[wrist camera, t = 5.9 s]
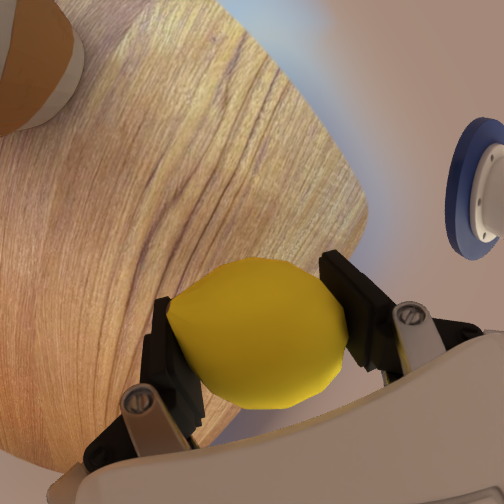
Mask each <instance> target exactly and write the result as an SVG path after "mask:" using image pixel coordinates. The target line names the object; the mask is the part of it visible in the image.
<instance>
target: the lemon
mask: <svg viewBox="0 0 504 504" xmlns="http://www.w3.org/2000/svg"><path fill="white" fill-rule="evenodd" d="M166 316H167V318H168V320H169V323H170V325H171V328H172V330H173V332H174V334H175V337H176V339H177V341H178V344H179V346H180V348H181V350H182V352H183V354H184V357H185V359H186V361H187V363H188V365H189V367H190V368H191V369H192V371H193V372H194V373H195V374H196V375H197V377H198V378H199V379H200V380H201V381H202V383H203V384H204V385H205V386H206V387H207V388H208V389H209V391H210V392H211V393H213V394H215V395H217V396H219V397H221V398H223V399H225V400H227V401H229V402H231V403H233V404H235V405H237V406H240V407H242V408H244V409H285V408H288V407H291V406H294V405H296V404H298V403H300V402H302V401H304V400H306V399H308V398H310V397H312V396H314V395H316V394H318V393H320V392H322V391H323V390H324V389H325V388H326V387H327V386H328V384H329V383H330V382H331V381H332V380H333V379H334V377H335V376H336V375H337V374H338V373H339V372H340V370H341V366H342V360H343V354H344V350H345V347H346V344H347V342H348V339H349V335H348V330H347V324H346V319H345V314H344V309H343V307H342V306H341V304H340V303H339V302H338V301H337V300H336V298H335V297H334V296H333V295H332V293H331V292H330V291H329V290H328V289H327V287H326V286H325V285H324V284H323V283H322V281H321V280H320V279H318V278H316V277H314V276H313V275H311V274H309V273H307V272H305V271H304V270H302V269H300V268H298V267H296V266H295V265H293V264H291V263H289V262H287V261H282V260H273V259H265V258H257V257H249V258H245V259H242V260H238V261H235V262H231V263H228V264H224V265H220V266H219V267H217V268H216V269H214V270H213V271H212V272H210V273H209V274H207V275H206V276H204V277H203V278H202V279H200V280H199V281H197V282H196V283H195V284H193V285H192V286H190V287H189V288H188V289H186V290H185V291H183V292H182V293H181V294H179V295H178V296H176V297H175V298H174V299H172V300H171V301H170V302H169V303H168V305H167V308H166Z"/></svg>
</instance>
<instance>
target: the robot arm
mask: <svg viewBox="0 0 504 504" xmlns="http://www.w3.org/2000/svg"><path fill="white" fill-rule="evenodd" d="M469 215H470V224H471V229H472V232H473V234H474V236H475V237H476V238H477V239H479V240H480V241H482V242H485V243H486V242H490V241H491V240H493V239H494V238H495V237H496V236H498V237H500V238H502V239H504V145H502V144H498V143H493V144H491V145H489V146H488V148H487V149H486V150H485V151H484V153H483V154H482V156H481V158H480V160H479V163H478V165H477V168H476V171H475V175H474V179H473V183H472V189H471V196H470V209H469ZM319 273H320V280H321V281H322V283H323V284H324V285H325V286H326V287H327V289H328V290H329V291H330V292H331V293H332V295H333V296H334V297H335V298H336V300H337V301H338V302H339V303H340V304H341V306H342V307H343V309H344V314H345V319H346V324H347V330H348V335H349V339H348V342H347V344H346V348H347V349H348V351H349V352H350V354H351V355H352V357H353V358H354V359H355V361H356V362H357V364H358V365H359V366H360V367H363V366H364V368H365V369H366V371H367V372H370V371H372V370H374V369H376V368H377V369H378V370H381V373H382V377H383V383H384V387H383V388H381V389H380V390H377V391H375V392H373V393H371V394H369V395H367V396H365V397H363V398H361V399H358V400H356V401H354V402H352V403H349V404H347V405H345V406H342V407H340V408H337V409H335V410H333V411H330V412H328V413H325V414H323V415H320V416H317V417H315V418H312V419H309V420H306V421H303V422H301V423H298V424H295V425H292V426H289V427H286V428H283V429H279V430H276V431H272V432H269V433H266V434H262V435H259V436H255V437H251V438H248V439H243V440H239V441H235V442H230V443H226V444H221V445H217V446H211V447H206V448H200V447H199V445H198V444H197V442H196V440H195V439H194V437H193V436H192V433H193V432H194V431H195V430H196V427H200V426H202V423H201V418H205V412H204V405H203V398H202V390H201V383H200V379H199V378H198V377H197V375H196V374H195V373H194V372H193V371H192V369H191V368H190V367H189V365H188V363H187V361H186V359H185V357H184V354H183V352H182V350H181V348H180V346H179V344H178V341H177V339H176V337H175V334H174V332H173V330H172V328H171V325H170V323H169V320H168V318H167V316H166V308H167V305H168V303H169V302H170V301H171V300H172V299H170V298H169V297H168V296H167V297H163V298H159V299H156V300H155V302H154V311H153V320H152V331H151V334H146V335H145V336H144V341H143V350H142V360H141V372H140V384H136V385H133V386H131V387H130V388H128V389H127V390H126V391H125V392H124V393H123V395H122V397H121V399H120V403H119V404H120V410H121V413H122V414H121V415H120V416H119V417H118V418H117V419H116V420H115V421H114V422H113V423H112V424H111V425H110V426H109V427H108V428H106V429H105V430H104V431H103V432H102V433H101V434H100V435H99V436H98V437H97V438H96V439H95V440H94V441H93V442H92V443H91V444H90V445H89V446H88V447H87V448H86V450H85V452H84V456H83V462H82V463H79V462H77V463H76V464H75V465H74V466H73V467H72V468H71V469H70V470H68V471H67V472H66V473H65V474H64V475H63V476H62V477H60V478H59V479H58V480H57V481H56V482H55V483H53V484H52V485H51V486H50V487H49V489H48V490H47V494H46V497H47V502H48V504H504V331H496V330H484V332H482V331H481V329H480V328H479V327H477V326H476V325H474V324H470V323H465V322H458V321H450V320H443V319H436V318H432V317H431V315H430V313H429V311H428V310H427V309H426V307H424V306H423V305H422V304H419V303H417V302H412V301H406V302H402V303H400V304H398V305H396V304H395V303H394V302H393V301H392V300H391V299H390V298H389V297H388V296H387V295H386V294H385V293H384V292H383V291H382V290H381V289H379V288H378V287H377V286H376V285H375V284H374V283H373V282H372V281H371V280H370V279H369V278H368V277H367V276H366V275H365V274H363V273H361V272H360V271H359V270H358V269H357V268H355V266H353V265H352V264H351V263H350V262H349V261H348V260H347V259H346V258H345V257H344V256H343V255H341V254H340V253H339V252H338V251H337V250H331V251H328V252H324V253H323V254H322V257H320V258H319ZM173 299H174V298H173Z"/></svg>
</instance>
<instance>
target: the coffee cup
mask: <svg viewBox="0 0 504 504" xmlns="http://www.w3.org/2000/svg"><path fill="white" fill-rule="evenodd" d="M84 54H85V52H84V48H83V43H82V40H81V38H80V37H79V35H78V34H77V32H76V31H75V30H74V28H73V27H72V26H71V24H70V22H69V21H68V19H67V18H66V16H65V15H64V13H63V12H62V11H61V9H60V8H59V7H58V5H57V4H56V3H55V2H54V0H0V137H3V136H5V135H8V134H10V133H13V132H16V131H21V130H25V129H30V128H33V127H36V126H39V125H42V124H43V123H45V122H46V121H48V120H49V119H51V118H53V117H54V116H55V115H56V114H57V113H58V112H59V111H60V110H61V109H62V108H63V107H64V106H65V104H66V103H67V102H68V100H69V99H70V98H71V96H72V95H73V93H74V91H75V89H76V87H77V85H78V83H79V81H80V78H81V74H82V71H83V67H84Z"/></svg>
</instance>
